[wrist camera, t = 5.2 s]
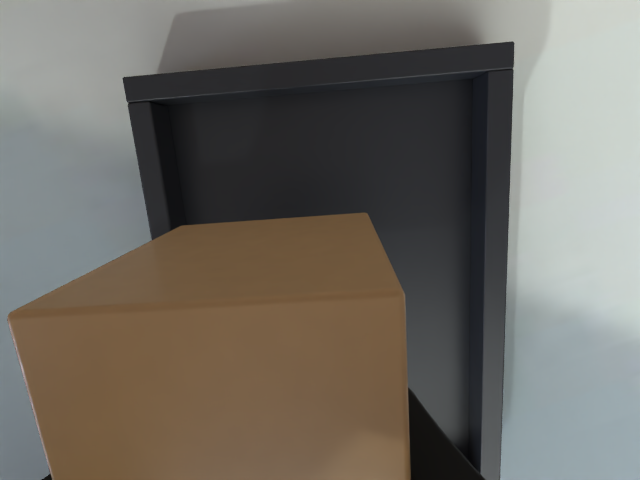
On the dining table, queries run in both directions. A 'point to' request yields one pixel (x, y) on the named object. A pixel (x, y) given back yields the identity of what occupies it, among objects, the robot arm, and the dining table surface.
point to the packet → (225, 357)
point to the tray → (363, 190)
